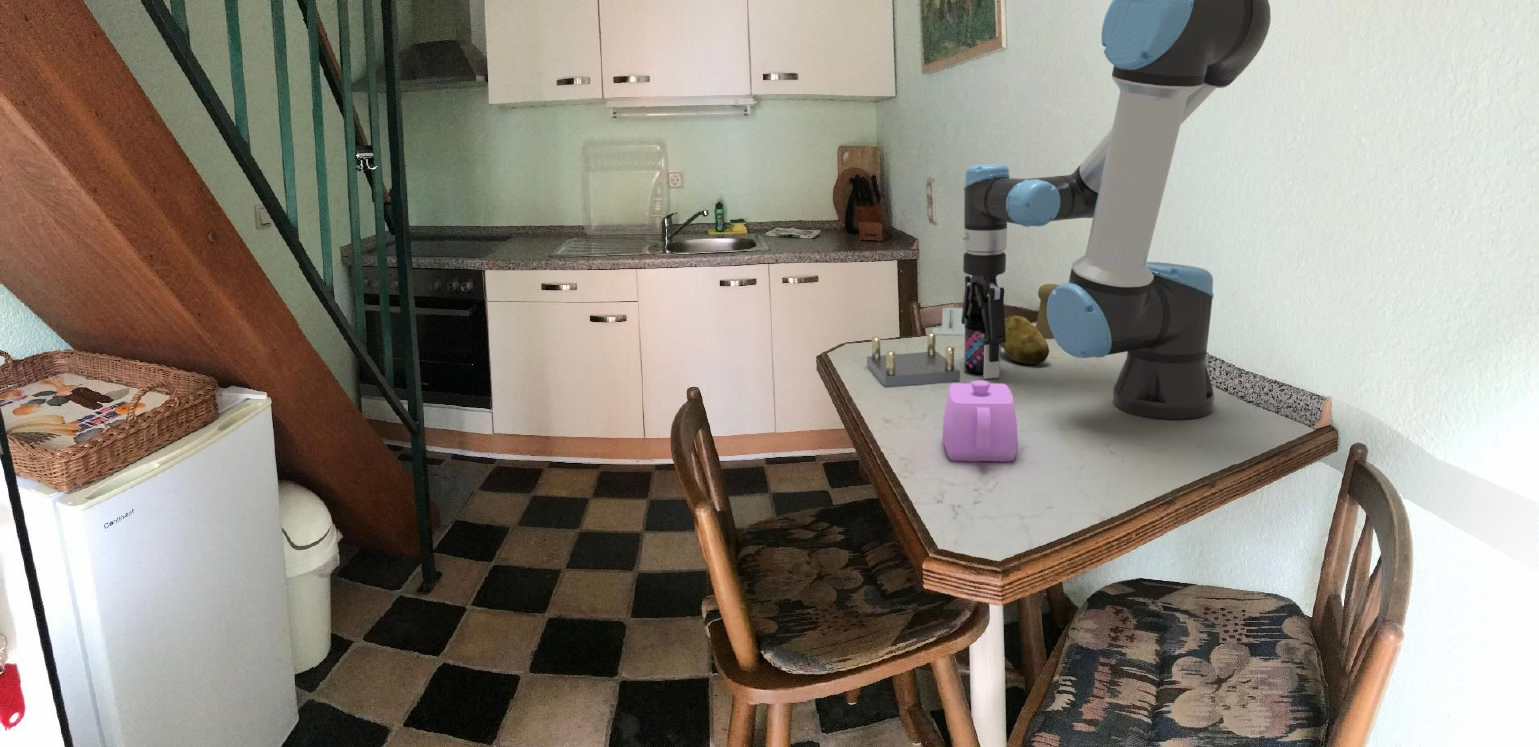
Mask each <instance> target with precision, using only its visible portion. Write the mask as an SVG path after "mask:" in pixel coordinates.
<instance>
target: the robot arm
mask: <svg viewBox="0 0 1539 747" xmlns="http://www.w3.org/2000/svg"><path fill="white" fill-rule="evenodd" d="M1270 24H1271V5H1270V2H1269V0H1111V2H1110V4H1109V6H1108V8H1107V10H1106V14H1105V16H1104V18H1103V22H1102V27H1101V28H1102V29H1101V45H1102V46H1103V47H1104V48H1105V49H1104V50H1103V53H1104V55H1105V58H1106V59H1107V60H1108V62H1110V64H1112V65H1113V67H1112V68H1113V69H1112V74H1111V79H1112V80H1113V81H1114V83H1115V85H1116V86H1117V87H1118V90H1119V95H1118V100H1117V104H1116V105H1117V106H1116V110H1115V114H1114V118H1113V123H1112V128H1111V129H1110V130H1109V131H1108V133H1107V134H1105V136H1104V137H1103V139H1101V141H1100V142H1099V143H1098V144H1097V145H1096V146H1095V147H1094V149H1093V150H1092V151H1091V152H1090V153H1089V154H1088V155H1087V156H1086V158H1085V159H1084V160H1083V161H1082V162H1081V164H1080V165H1079V166H1078V167H1077V168H1076V169H1075V170H1074V171H1073V172H1072V173H1070V174H1065V175H1054V176H1044V177H1043V176H1041V177H1031V178H1013V177H1011V176H1010V172H1009V171H1010V168H1009V166H1008V165H1007V164H1004V163H984V164H983V163H981V164H980V163H979V164H973V165H970V166H968V167H967V169H966V171H965V181H964V182H965V184H964V187H963V191H964V194H963V195H964V197H963V198H964V199H963V200H964V210H963V212H964V213H963V215H964V218H963V219H964V220H963V221H964V223H963V224H964V229H963V230H964V231H963V233H964V234H962V235H961V240H963V249H964V250H965V253H963V261H962V262H963V264H962V266H963V268H962V269H963V270H962V272H963V273H964V274H967V275H965V276H964V294H963V304H962V308H963V311H962V320H961V322H962V324H965V316H967V315H971V314H982V313H983V320H984V327H985V334H986V341H984V342H983V345H984V375H983V379H985V380H987V379H995V378H996V379H998V378H1000V370H999V365H1000V366H1001V355H1000V344H1001V343H1005V342H1006V333H1005V318H1006V316H1005V302H1004V301H1005V300H1004V299H1005V288H1004V287H1002V286H1001V287H999V285H998V282H997V277H998V275H1003V274H1004V273H1005V272H1006V266H1007V254H1006V252H1005V250H1007V247H1008V246H1007V244H1008V243H1007V242H1008V224H1009V223H1010V224H1015V225H1019V226H1022V227H1027V228H1028V227H1044V226H1046V225H1048V224H1049V223H1050V222H1055V221H1056V222H1059V221H1062V220H1063V221H1064V220H1077V219H1092V220H1091V221H1092V222H1091V225H1090V226H1091V227H1090V230H1089V235H1088V240H1087V245H1086V249H1085V254H1084V255H1082V256H1080V257H1079V258H1077V259H1076V260H1074V261H1073V263H1072V264H1071V268H1070V269H1071V270H1070V272H1069V273H1070V274H1069V278H1068V282H1065V283H1061V284H1059V285H1060V286H1058V287H1057V288H1056V289H1054V290H1053V291H1052V292H1051V294H1050V296H1049V299H1048V302H1047V320H1048V324H1049V327H1050V330H1051V332H1052V333H1053V336H1054V339H1053V340H1055V342H1056V343H1057V345H1058V346H1059V348H1061V350H1063V351H1064V352H1066V354H1068V355H1070V356H1072V357H1075V358H1078V359H1089V358H1098V359H1099V358H1104V357H1106V356H1110V355H1115V354H1119V353H1127V354H1126V358H1125V361H1124V363H1123V365H1122V367H1121V369H1120V372H1119V374H1118V376H1117V379H1116V381H1115V384H1114V386H1113V389H1112V390H1113V391H1112V403H1113V405H1114V406H1115V407H1117V408H1119V409H1120V410H1122V411H1124V412H1128V413H1130V414H1134V415H1138V416H1142V417H1148V418H1153V419H1163V420H1187V419H1196V418H1201V417H1205V416H1208V415H1209V414H1211V413H1213V411H1214V406H1215V405H1214V403H1215V393H1214V389H1213V385H1212V382H1211V378H1210V375H1209V374H1210V373H1209V369H1208V367H1207V353H1208V351H1207V350H1208V341H1209V334H1210V333H1209V332H1210V323H1211V314H1212V306H1213V299H1214V291H1213V289H1214V288H1213V287H1214V278H1213V275H1212V273H1211V272H1210V271H1209V270H1207V269H1206V268H1201V267H1198V266H1193V265H1185V264H1179V263H1178V264H1177V263H1168V262H1157V261H1147V260H1148V257H1149V252H1150V249H1151V245H1152V240H1153V237H1154V233H1155V229H1156V225H1157V220H1158V217H1159V212H1160V208H1161V204H1162V200H1163V196H1164V192H1165V188H1166V185H1167V181H1168V175H1169V172H1170V168H1171V164H1172V161H1173V157H1174V153H1175V149H1176V144H1177V142H1178V141H1177V140H1178V135H1179V132H1180V128H1181V125H1182V124H1183V123H1184V122H1185V121H1186V120H1187V119H1188V118H1189V117H1190V116H1191V115H1192V114H1193V113H1194V112H1195V111H1196V110H1197V108H1199V107H1200V106H1201V105H1202V104H1203V102H1205V100H1206V99H1208V97H1210V95H1211V94H1212V93H1213V92H1214V91H1215V90H1216V89H1224V88H1227V87H1228V86H1230V85H1231V84H1232V83H1233V82H1234V81H1236V80H1237V78H1238V77H1240V75H1241V74H1242V73H1243V72H1244V71H1245V70H1246V69H1247V67H1248V66H1249V65H1250V64H1251V63H1252V61H1253V60H1254V59H1255V58H1256V57H1257V55H1258V53H1259V51H1260V50H1261V49H1262V47H1263V45H1264V42H1265V40H1266V38H1267V36H1268V34H1269V31H1270V30H1269V29H1270V26H1271V25H1270ZM964 327H965V326H964Z"/></svg>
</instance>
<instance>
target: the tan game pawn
mask: <svg viewBox="0 0 1539 747" xmlns="http://www.w3.org/2000/svg"><path fill="white" fill-rule="evenodd" d="M1060 285H1061V284H1055V283H1047V284H1042V285H1041V286H1039V287H1038V292H1037V295H1038V298H1039V300H1040V301H1039V308H1038V312H1037V318H1036V325H1035V327H1036V328H1037V329H1038V330H1039V331H1040V333H1041V335H1042V336H1043V338H1044V339H1046V340H1047V339H1049V340H1050V339H1051V340H1052V339H1053V340H1055V339H1054V336H1053V333H1052V332H1051V330H1050V327H1049V324H1048V320H1047V302H1048V299H1049V296H1050V294H1051V292H1052V291H1053V290H1054V289H1056V288H1057V287H1058V286H1060Z"/></svg>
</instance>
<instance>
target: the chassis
mask: <svg viewBox="0 0 1539 747" xmlns="http://www.w3.org/2000/svg"><path fill="white" fill-rule="evenodd" d="M926 337H927V344H926V345H927V347H926V348H927V349H926V351H923V352H922V351H921V352H911V353H910V352H909V353H907V352H906V353H896V351H894V350H893V351H891V350H890V351H889V350H888V351H886V353H885V354H883V355H882V354H881V337H880V336H873V337H872V338H871V355H869V356H866V367H867V369H868V370H870V372H871V373H872V374H873V375H874V377H876V379H877V380H878V381H879V382H880V383H881V385H882V386H884V388H891V387H902V386H903V387H904V386H915V385H927V384H940V383H952V382H960V380H961V370H960V369H958V368H957V366H955V347H953V346H946V347H945V348H944V351H945V352H944V356H943V355H942V354H941V353H939V352H938V351H937V350H936V349H937V348H936V346H937V336H936V333H933V332H928V333H927V336H926Z"/></svg>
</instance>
